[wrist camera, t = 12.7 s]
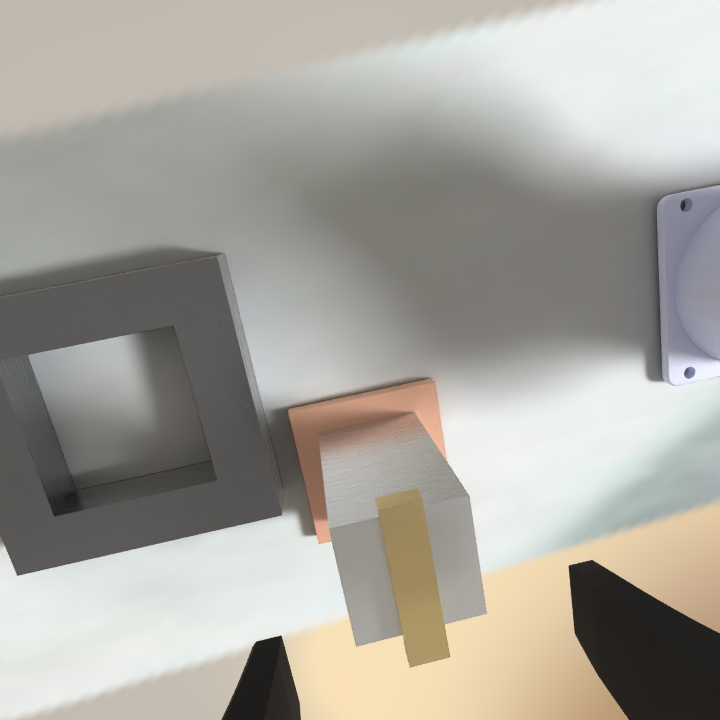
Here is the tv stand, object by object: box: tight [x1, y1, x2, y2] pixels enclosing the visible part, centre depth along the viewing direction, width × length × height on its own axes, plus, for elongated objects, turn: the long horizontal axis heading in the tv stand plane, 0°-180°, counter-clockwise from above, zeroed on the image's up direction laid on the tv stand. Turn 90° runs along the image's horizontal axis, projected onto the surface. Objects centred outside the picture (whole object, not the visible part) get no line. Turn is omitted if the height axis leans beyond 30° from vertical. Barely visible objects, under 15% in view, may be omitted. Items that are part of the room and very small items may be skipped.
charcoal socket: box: [0, 254, 283, 576], centre depth 20 cm, size 10×10×2 cm
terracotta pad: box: [288, 378, 447, 544], centre depth 22 cm, size 6×6×1 cm
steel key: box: [318, 412, 487, 667], centre depth 18 cm, size 5×4×8 cm
